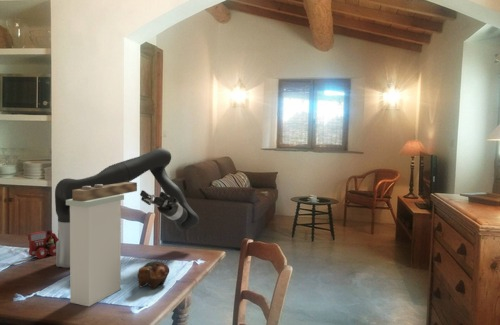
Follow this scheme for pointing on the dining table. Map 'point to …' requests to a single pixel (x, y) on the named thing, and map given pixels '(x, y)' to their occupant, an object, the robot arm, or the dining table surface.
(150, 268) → the decorative turtle
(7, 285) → the dining table surface
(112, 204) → the pillar
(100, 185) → the beam
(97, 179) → the robot arm
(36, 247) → the toy fire truck
